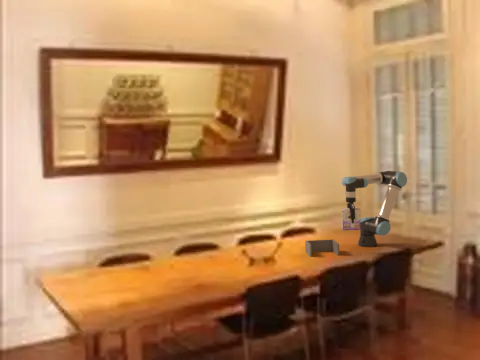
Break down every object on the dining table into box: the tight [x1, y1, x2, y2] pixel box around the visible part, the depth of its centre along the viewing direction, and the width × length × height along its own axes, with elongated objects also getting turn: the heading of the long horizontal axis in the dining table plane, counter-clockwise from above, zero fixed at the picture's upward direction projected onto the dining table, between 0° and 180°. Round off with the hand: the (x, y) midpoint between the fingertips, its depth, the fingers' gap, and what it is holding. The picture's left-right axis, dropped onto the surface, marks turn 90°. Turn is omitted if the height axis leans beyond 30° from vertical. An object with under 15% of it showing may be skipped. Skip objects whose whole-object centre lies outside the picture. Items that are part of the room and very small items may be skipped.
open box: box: [304, 239, 340, 258], centre depth 475 cm, size 22×17×9 cm
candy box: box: [341, 207, 361, 231], centre depth 474 cm, size 14×6×16 cm, turn 84°
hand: (351, 226), depth 474 cm, fingers closed on candy box, 6 cm apart
